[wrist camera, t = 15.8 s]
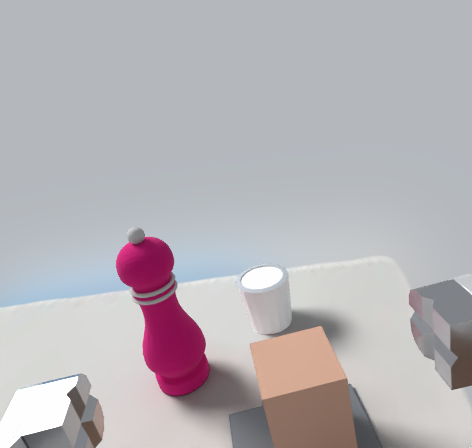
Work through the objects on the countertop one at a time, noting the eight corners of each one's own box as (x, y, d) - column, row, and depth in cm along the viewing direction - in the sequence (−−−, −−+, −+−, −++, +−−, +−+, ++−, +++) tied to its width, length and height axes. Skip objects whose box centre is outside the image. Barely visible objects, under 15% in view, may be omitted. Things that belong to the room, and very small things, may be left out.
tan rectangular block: (284, 487, 36) (261, 399, 32) (270, 423, 42) (249, 343, 38) (360, 467, 36) (347, 378, 32) (334, 406, 42) (321, 325, 38)
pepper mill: (211, 349, 54) (168, 207, 47) (216, 390, 48) (167, 233, 40) (156, 363, 54) (104, 223, 46) (153, 407, 47) (91, 252, 40)
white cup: (273, 344, 53) (263, 298, 50) (236, 326, 58) (224, 283, 55) (307, 314, 57) (298, 270, 54) (269, 300, 61) (260, 258, 59)
